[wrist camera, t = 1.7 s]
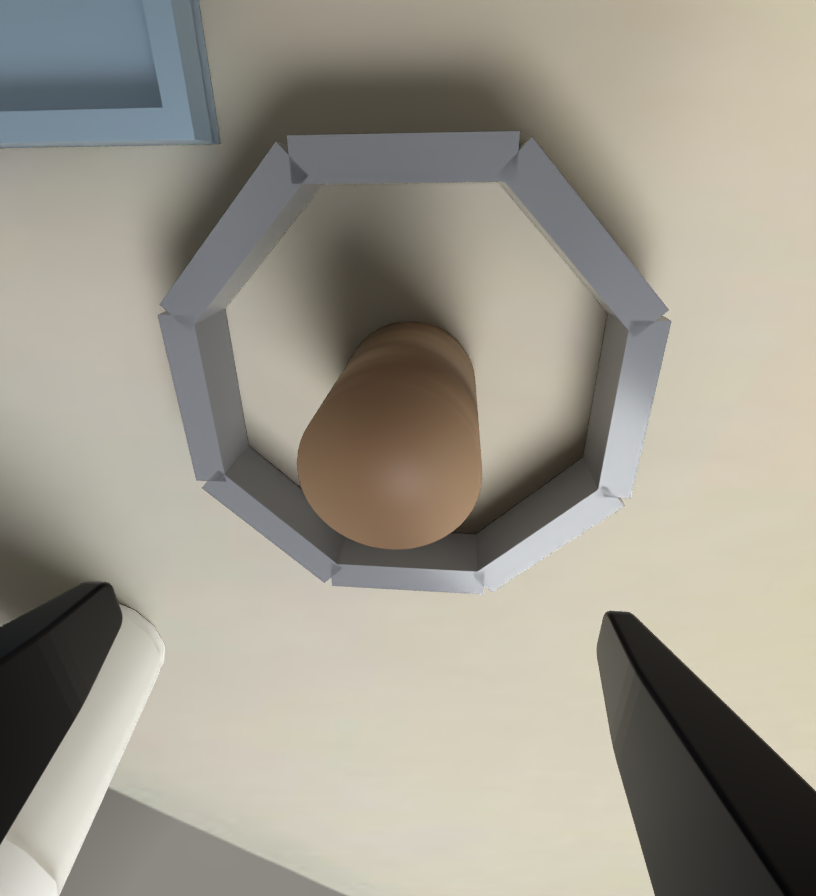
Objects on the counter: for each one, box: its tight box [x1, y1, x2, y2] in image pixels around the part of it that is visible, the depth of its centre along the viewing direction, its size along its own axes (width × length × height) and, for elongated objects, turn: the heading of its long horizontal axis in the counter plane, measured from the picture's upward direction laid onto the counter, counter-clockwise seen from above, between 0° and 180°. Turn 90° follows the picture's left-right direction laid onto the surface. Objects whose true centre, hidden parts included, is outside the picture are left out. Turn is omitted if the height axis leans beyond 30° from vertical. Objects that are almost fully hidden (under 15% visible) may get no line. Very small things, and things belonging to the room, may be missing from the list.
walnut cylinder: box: [297, 321, 482, 549], centre depth 17 cm, size 5×5×7 cm
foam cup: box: [0, 604, 165, 896], centre depth 22 cm, size 10×9×13 cm
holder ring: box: [158, 131, 671, 594], centre depth 19 cm, size 16×16×2 cm
